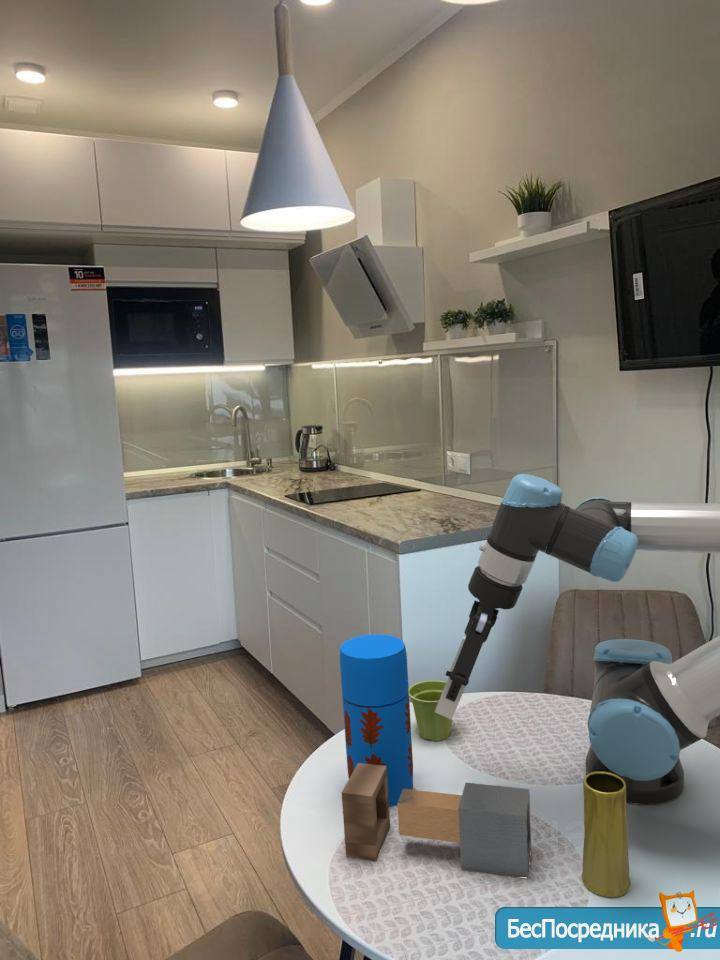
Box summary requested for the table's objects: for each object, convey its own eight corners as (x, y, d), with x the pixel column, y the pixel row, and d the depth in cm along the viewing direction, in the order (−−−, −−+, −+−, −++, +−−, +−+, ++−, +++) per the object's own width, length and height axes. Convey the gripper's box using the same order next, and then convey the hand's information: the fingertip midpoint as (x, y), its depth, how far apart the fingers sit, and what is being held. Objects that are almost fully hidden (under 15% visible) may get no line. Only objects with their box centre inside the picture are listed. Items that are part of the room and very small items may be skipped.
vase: (592, 860, 100) (590, 764, 98) (637, 877, 96) (636, 778, 94) (574, 885, 96) (572, 785, 93) (621, 905, 92) (619, 801, 90)
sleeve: (531, 848, 103) (529, 789, 102) (527, 879, 97) (525, 816, 96) (468, 840, 106) (465, 782, 105) (461, 869, 100) (458, 808, 99)
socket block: (390, 826, 110) (386, 766, 109) (376, 861, 103) (371, 796, 101) (362, 823, 112) (358, 762, 110) (346, 856, 104) (341, 792, 103)
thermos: (409, 810, 114) (400, 659, 111) (343, 806, 116) (332, 658, 113) (417, 773, 125) (409, 634, 121) (356, 769, 127) (347, 633, 123)
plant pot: (402, 727, 141) (400, 685, 140) (447, 717, 144) (445, 676, 142) (420, 750, 132) (418, 705, 131) (467, 739, 135) (465, 695, 134)
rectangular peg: (527, 835, 102) (526, 802, 101) (525, 851, 98) (524, 818, 98) (405, 819, 107) (403, 788, 106) (399, 835, 104) (397, 802, 103)
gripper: (485, 542, 120) (441, 650, 126) (464, 592, 97) (412, 723, 103) (528, 560, 119) (482, 668, 125) (518, 615, 95) (461, 746, 101)
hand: (450, 693), depth 114 cm, fingers open, 13 cm apart
